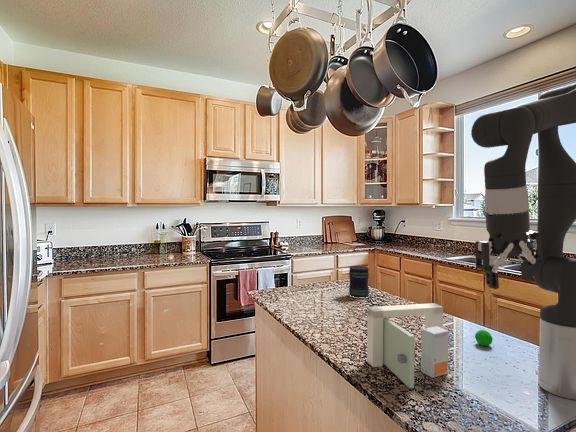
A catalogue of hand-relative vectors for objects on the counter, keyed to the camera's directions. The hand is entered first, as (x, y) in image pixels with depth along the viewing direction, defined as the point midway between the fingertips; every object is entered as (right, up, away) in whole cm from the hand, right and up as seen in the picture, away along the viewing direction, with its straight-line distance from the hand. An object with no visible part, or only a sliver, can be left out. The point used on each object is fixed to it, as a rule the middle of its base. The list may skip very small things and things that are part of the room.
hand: (510, 283), depth 70 cm
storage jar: (-11, -27, +99) cm, 103 cm away
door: (-19, -28, +19) cm, 39 cm away
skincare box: (-7, -29, +21) cm, 36 cm away
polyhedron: (+18, -29, +39) cm, 52 cm away
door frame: (-13, -29, +28) cm, 42 cm away
